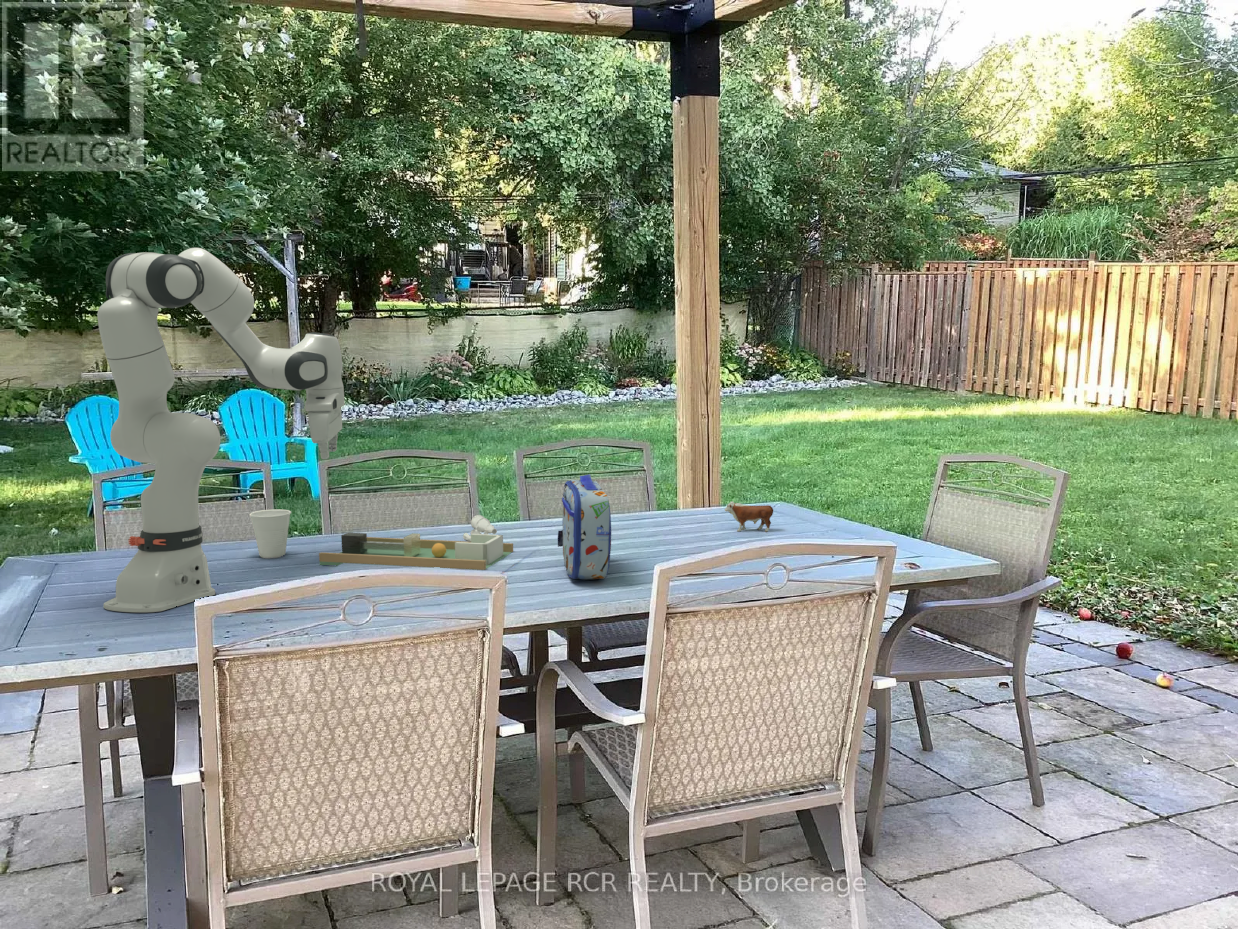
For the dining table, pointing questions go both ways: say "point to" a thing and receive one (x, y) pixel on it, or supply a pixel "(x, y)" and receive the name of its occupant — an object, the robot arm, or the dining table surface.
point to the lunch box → (585, 529)
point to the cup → (271, 531)
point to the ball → (439, 550)
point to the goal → (480, 548)
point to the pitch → (417, 561)
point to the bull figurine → (750, 514)
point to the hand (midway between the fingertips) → (329, 454)
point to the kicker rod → (379, 544)
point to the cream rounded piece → (480, 527)
